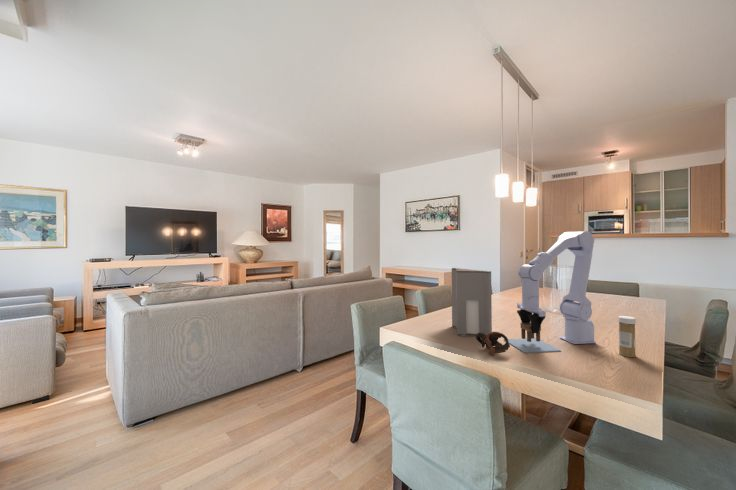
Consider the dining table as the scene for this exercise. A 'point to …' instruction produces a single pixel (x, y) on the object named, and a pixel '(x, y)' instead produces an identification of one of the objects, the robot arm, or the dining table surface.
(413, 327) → the dining table surface
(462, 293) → the cabinet
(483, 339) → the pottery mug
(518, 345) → the felt mat
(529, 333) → the walnut stool
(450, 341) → the dining table surface
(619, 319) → the sprinkles bottle
